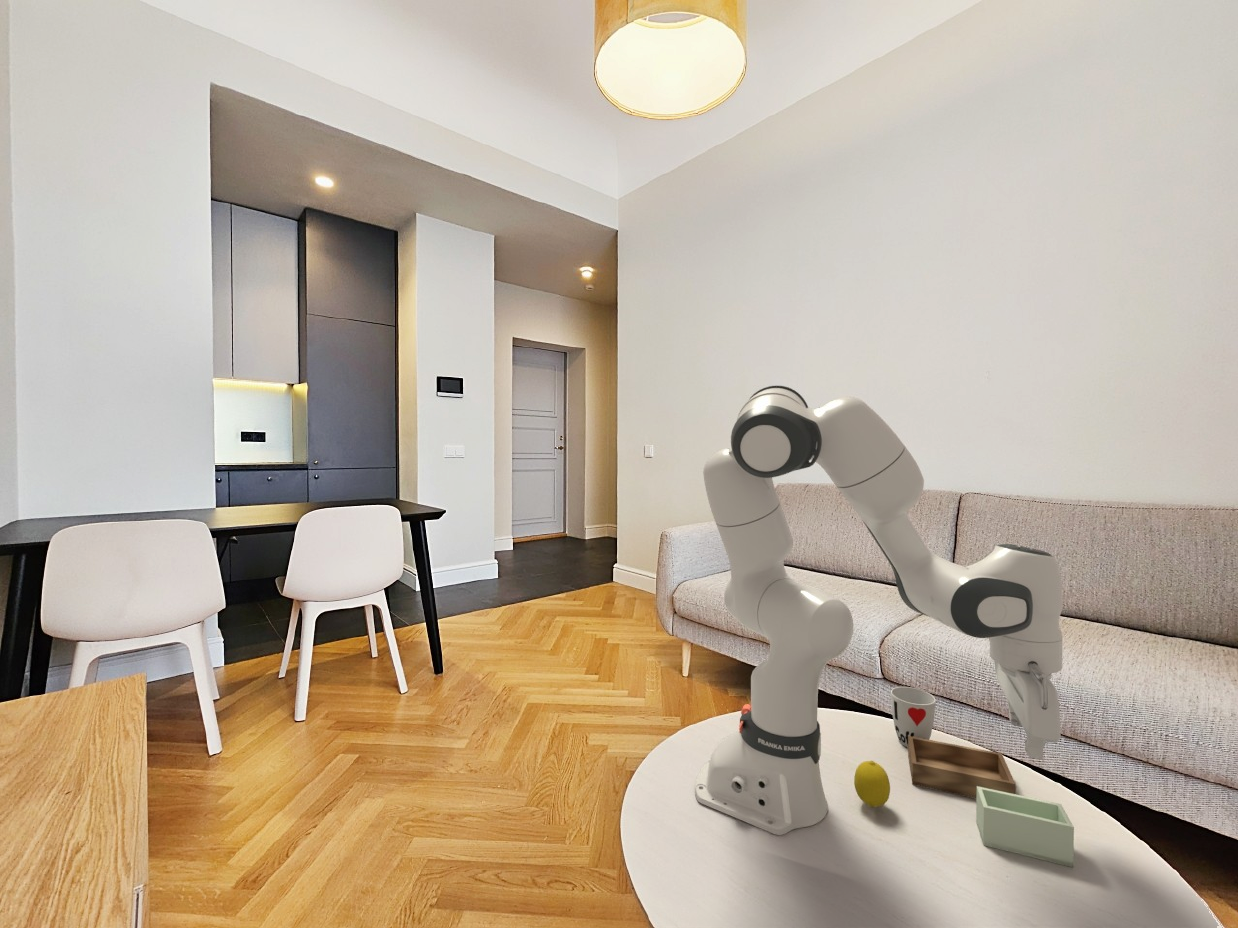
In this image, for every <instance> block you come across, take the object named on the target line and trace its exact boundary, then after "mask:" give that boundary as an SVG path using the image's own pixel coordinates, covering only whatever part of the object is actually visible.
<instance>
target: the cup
mask: <svg viewBox="0 0 1238 928" xmlns="http://www.w3.org/2000/svg"><path fill="white" fill-rule="evenodd" d="M890 701H891V702H890V703H891V714H892V718H893V719H892V720H893V725H894V730H895V732H896V735H897V739H898V742H899V743H900V744H901V745H902V746H904V747H905V748H906V747H907V748H908V736H912V737H917V738H922V739H928V740H931V735H932V732H933V726H934V722H935V714H936V713H935V712H936V711H935V709H936V698H935V696H934V695H933V694H931V693H929V692H927V691H926V690H922V689H920V688H915V687H909V686H896V687H893V688H892V689H891V690H890Z"/></svg>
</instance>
